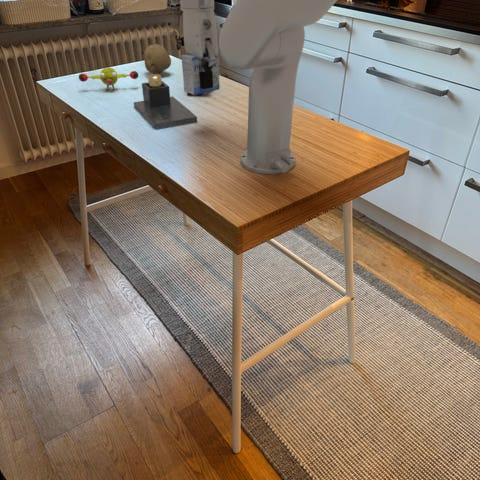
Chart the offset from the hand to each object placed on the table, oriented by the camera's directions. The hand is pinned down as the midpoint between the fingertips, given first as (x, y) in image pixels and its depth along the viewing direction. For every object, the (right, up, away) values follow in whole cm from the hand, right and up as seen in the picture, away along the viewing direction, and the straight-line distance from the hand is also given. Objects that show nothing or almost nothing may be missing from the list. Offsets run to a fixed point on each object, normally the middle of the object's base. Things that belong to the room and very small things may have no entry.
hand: (201, 84), depth 110 cm
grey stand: (-12, -3, +16) cm, 20 cm away
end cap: (-3, +9, +32) cm, 34 cm away
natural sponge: (-19, +19, +45) cm, 53 cm away
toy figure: (-31, +9, +32) cm, 45 cm away
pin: (-14, +3, +17) cm, 23 cm away
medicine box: (0, -1, +1) cm, 2 cm away
